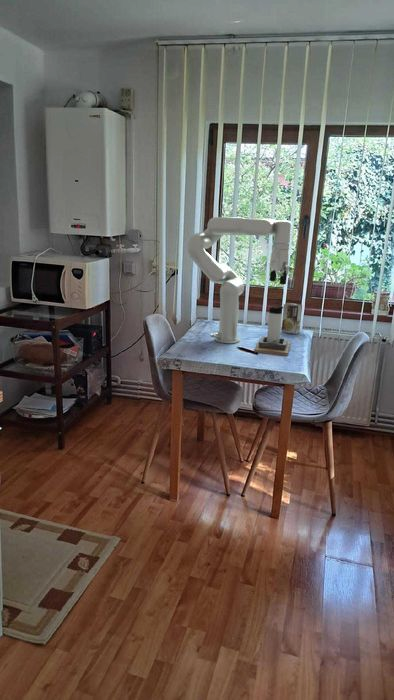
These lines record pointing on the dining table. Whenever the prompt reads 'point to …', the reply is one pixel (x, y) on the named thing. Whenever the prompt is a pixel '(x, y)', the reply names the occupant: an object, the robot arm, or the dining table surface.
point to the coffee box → (291, 318)
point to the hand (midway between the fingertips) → (277, 282)
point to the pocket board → (272, 347)
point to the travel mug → (274, 324)
